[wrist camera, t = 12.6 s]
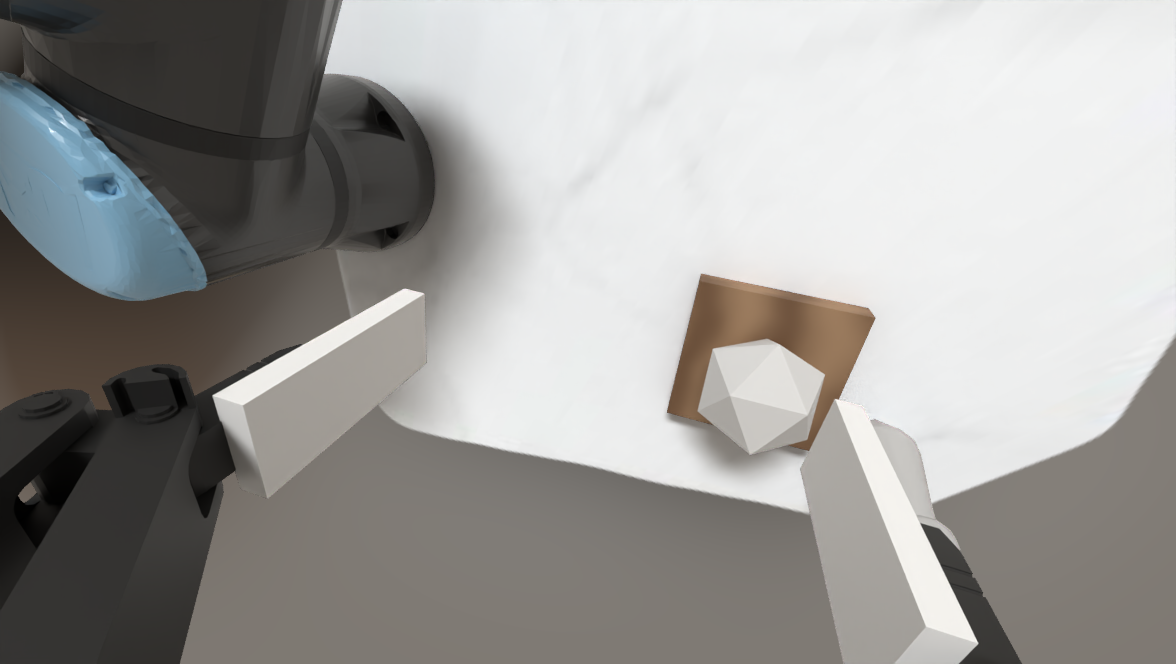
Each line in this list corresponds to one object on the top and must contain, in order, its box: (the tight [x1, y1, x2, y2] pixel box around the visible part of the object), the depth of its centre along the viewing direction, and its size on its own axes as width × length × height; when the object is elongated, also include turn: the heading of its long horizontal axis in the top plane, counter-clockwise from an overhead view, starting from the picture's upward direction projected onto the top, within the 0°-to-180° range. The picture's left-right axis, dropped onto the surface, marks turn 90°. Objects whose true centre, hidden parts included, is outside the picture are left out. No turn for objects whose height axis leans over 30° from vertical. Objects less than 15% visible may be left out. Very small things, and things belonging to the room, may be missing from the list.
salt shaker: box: [870, 419, 961, 552], centre depth 34 cm, size 6×6×13 cm
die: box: [698, 339, 825, 455], centre depth 34 cm, size 8×9×10 cm
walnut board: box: [667, 274, 875, 451], centre depth 39 cm, size 13×13×2 cm
